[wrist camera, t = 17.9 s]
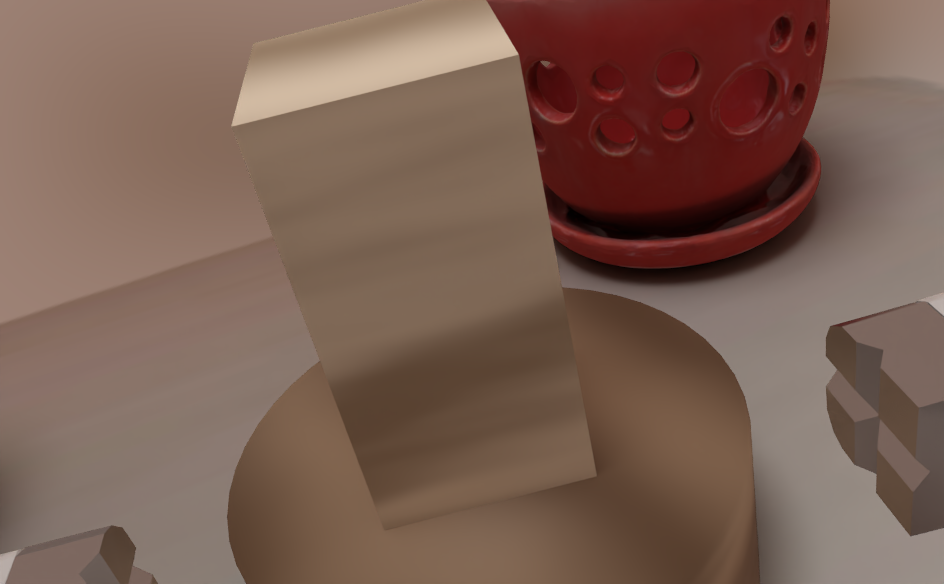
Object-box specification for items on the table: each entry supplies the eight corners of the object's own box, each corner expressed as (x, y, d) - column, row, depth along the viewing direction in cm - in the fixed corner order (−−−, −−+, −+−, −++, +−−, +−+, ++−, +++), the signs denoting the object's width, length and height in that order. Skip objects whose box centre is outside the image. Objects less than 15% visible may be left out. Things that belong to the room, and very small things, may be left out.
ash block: (597, 476, 20) (518, 54, 15) (383, 530, 20) (231, 127, 15) (552, 351, 25) (478, -13, 19) (375, 396, 25) (253, 43, 19)
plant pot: (836, 138, 41) (837, -142, 35) (821, 304, 32) (820, -43, 25) (564, 149, 47) (523, -93, 40) (479, 295, 37) (406, 4, 30)
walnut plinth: (406, 934, 18) (333, 805, 15) (238, 538, 28) (178, 420, 26) (875, 600, 22) (882, 451, 19) (578, 359, 32) (556, 240, 30)
